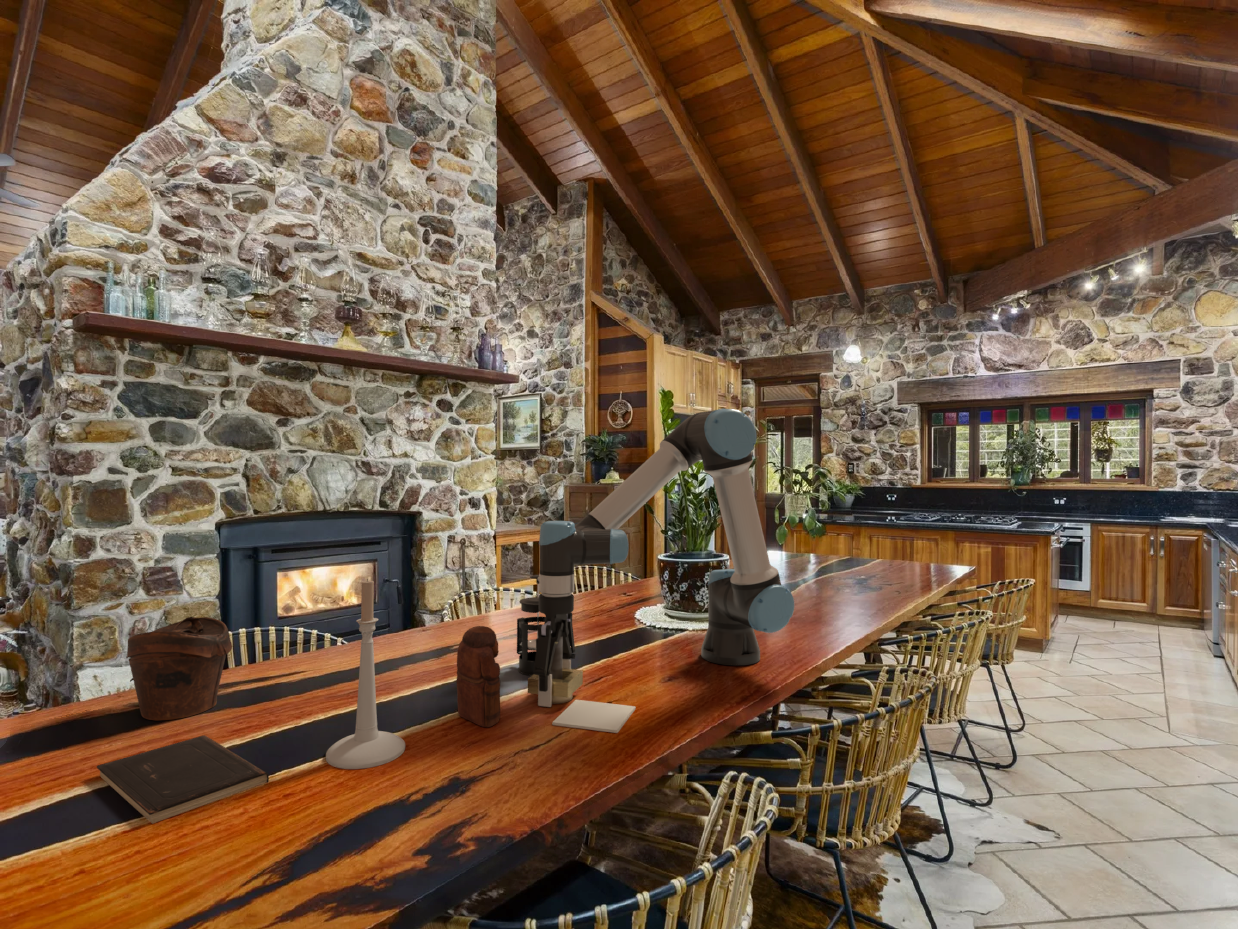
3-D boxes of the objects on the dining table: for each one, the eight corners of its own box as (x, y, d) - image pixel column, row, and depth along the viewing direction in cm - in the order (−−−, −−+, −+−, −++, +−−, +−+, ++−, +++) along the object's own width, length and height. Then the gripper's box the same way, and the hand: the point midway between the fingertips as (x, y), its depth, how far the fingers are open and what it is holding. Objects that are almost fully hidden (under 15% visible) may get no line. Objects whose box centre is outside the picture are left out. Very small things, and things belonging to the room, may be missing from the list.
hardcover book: (149, 829, 92) (149, 812, 92) (96, 780, 106) (96, 765, 106) (268, 786, 104) (269, 771, 104) (207, 747, 118) (207, 734, 118)
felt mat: (635, 709, 137) (635, 706, 137) (617, 733, 124) (617, 730, 124) (575, 702, 140) (575, 699, 140) (552, 724, 128) (552, 722, 128)
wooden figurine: (510, 721, 130) (511, 629, 130) (483, 731, 125) (484, 634, 125) (476, 706, 138) (477, 618, 138) (449, 714, 133) (449, 624, 133)
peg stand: (577, 694, 145) (577, 634, 145) (565, 705, 138) (565, 642, 138) (546, 690, 147) (547, 631, 147) (533, 701, 140) (533, 640, 140)
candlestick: (358, 776, 106) (359, 588, 107) (309, 757, 113) (311, 580, 113) (420, 747, 117) (422, 577, 117) (373, 731, 124) (374, 570, 124)
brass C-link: (582, 684, 146) (582, 670, 146) (567, 697, 137) (567, 683, 137) (544, 680, 148) (544, 666, 148) (527, 693, 140) (527, 678, 140)
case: (217, 685, 149) (216, 605, 148) (244, 710, 134) (243, 621, 134) (118, 707, 136) (117, 619, 136) (136, 736, 122) (135, 639, 122)
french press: (566, 669, 163) (567, 575, 163) (539, 679, 155) (540, 580, 155) (532, 660, 170) (533, 570, 170) (505, 669, 162) (505, 575, 162)
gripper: (559, 583, 155) (558, 679, 155) (517, 602, 133) (515, 713, 133) (590, 585, 153) (589, 682, 153) (552, 605, 131) (550, 718, 131)
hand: (554, 697), depth 143 cm, fingers open, 10 cm apart
